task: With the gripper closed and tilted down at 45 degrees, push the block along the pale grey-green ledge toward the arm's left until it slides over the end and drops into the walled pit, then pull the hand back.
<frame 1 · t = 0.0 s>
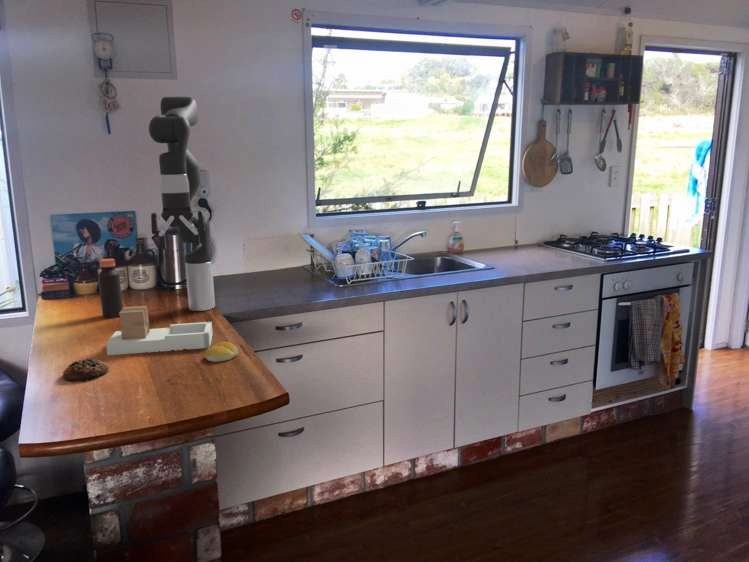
hand: (180, 248, 175), 29 cm above the table, tool pointing down, fingers open, 8 cm apart
block: (136, 335, 181), point 3 cm above the table, touching ledge
bottle: (113, 316, 217), on the table
bread roll 2: (86, 376, 161), on the table
pit: (189, 343, 185), on the table
ledge: (140, 346, 182), on the table
bread roll: (221, 357, 173), on the table
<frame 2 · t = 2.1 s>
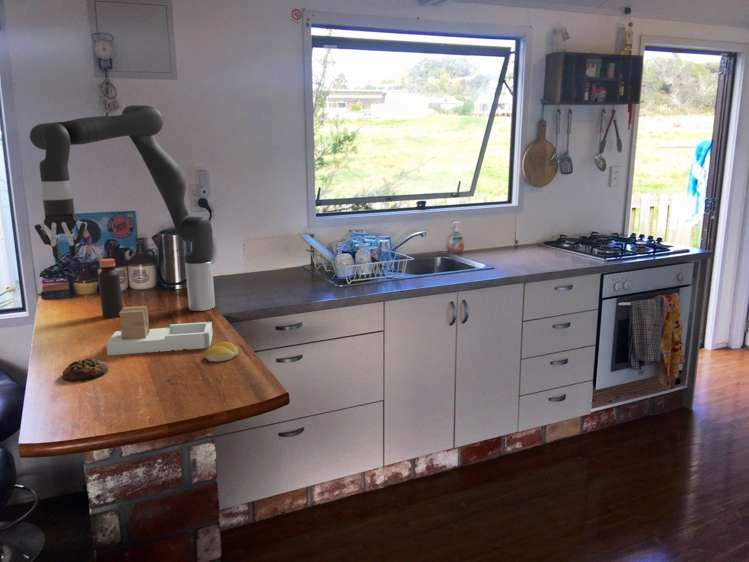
hand: (65, 258, 175), 27 cm above the table, tool pointing down, fingers open, 3 cm apart
nothing on the table moved.
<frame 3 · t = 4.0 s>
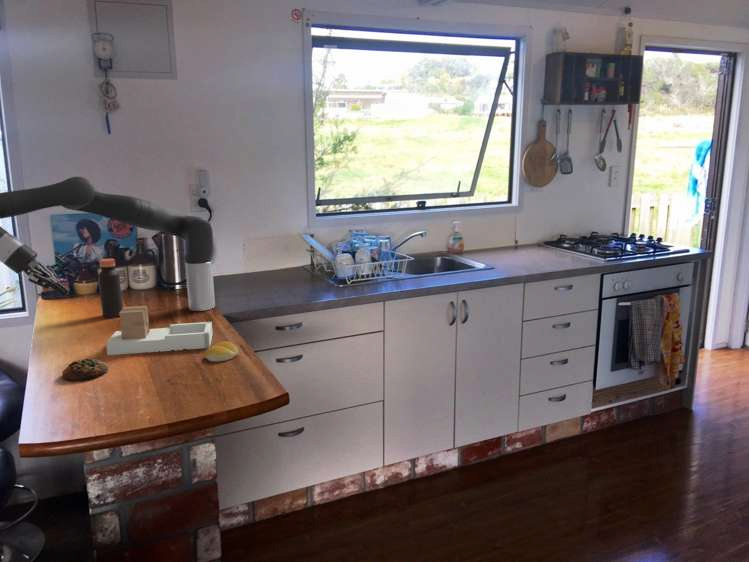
hand: (66, 293, 175), 17 cm above the table, tool tilted 45°, fingers closed
nothing on the table moved.
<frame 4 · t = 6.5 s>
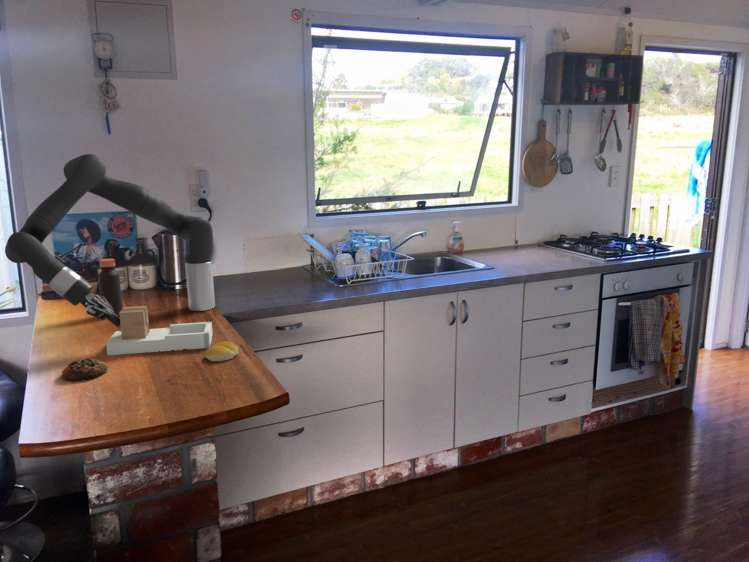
hand: (121, 324, 180), 7 cm above the table, tool tilted 45°, fingers closed
block: (136, 335, 181), point 4 cm above the table, touching gripper
everything else where it was.
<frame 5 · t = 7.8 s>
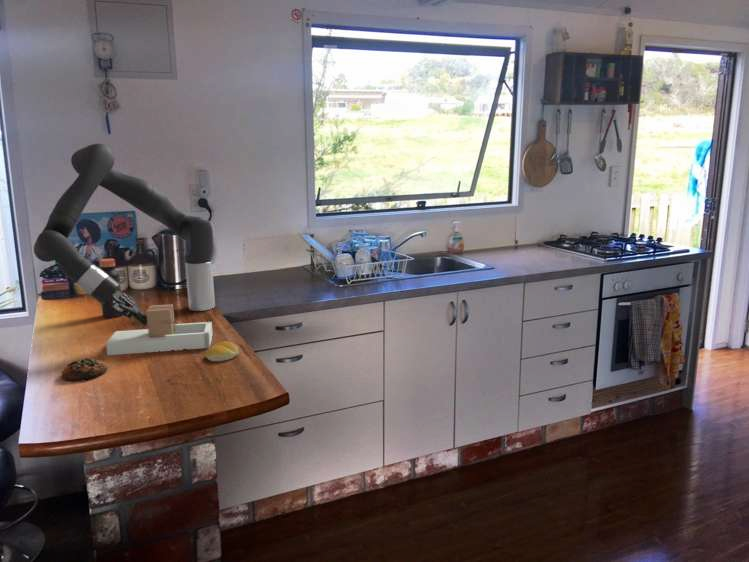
hand: (147, 322, 181), 7 cm above the table, tool tilted 45°, fingers closed
block: (162, 333, 183), point 4 cm above the table, touching ledge
everything else where it was.
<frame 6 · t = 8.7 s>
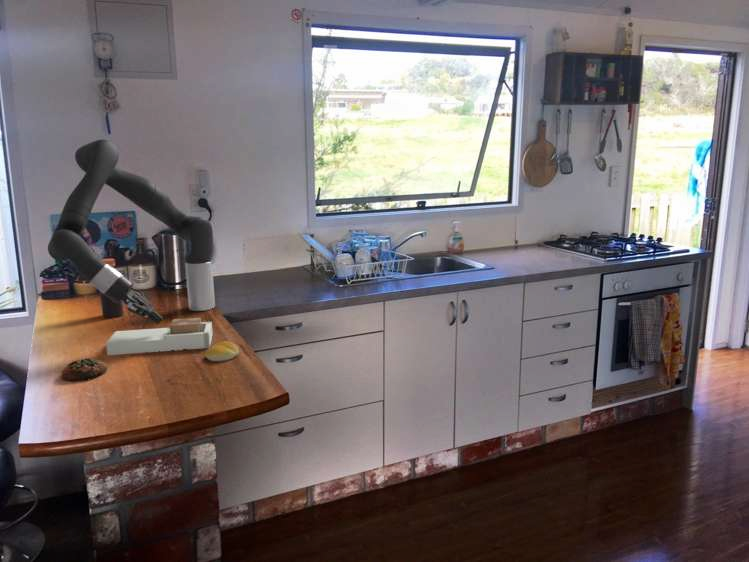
hand: (160, 321, 182), 7 cm above the table, tool tilted 45°, fingers closed
block: (172, 333, 183), point 4 cm above the table, tilted 90°, touching pit
everything else where it was.
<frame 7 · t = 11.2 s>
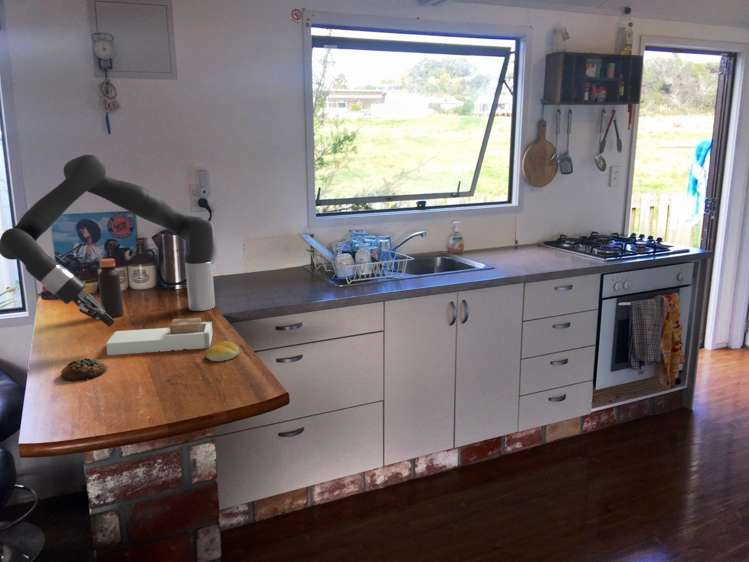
hand: (112, 323, 180), 7 cm above the table, tool tilted 45°, fingers closed
nothing on the table moved.
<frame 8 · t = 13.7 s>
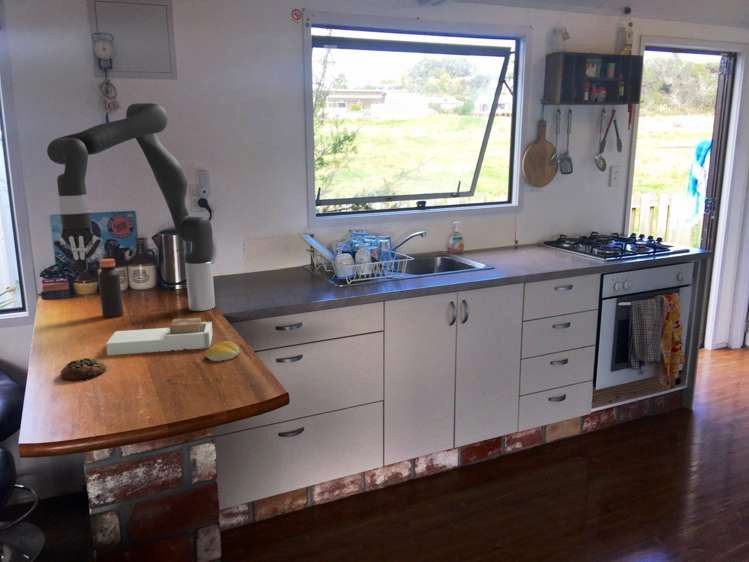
hand: (82, 272, 176), 23 cm above the table, tool pointing down, fingers closed
nothing on the table moved.
at the end: block inside the target area on the pit (4.2 cm from its centre), point 3.5 cm above the pit's base; block touching pit; block moved 10.3 cm from its start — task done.
